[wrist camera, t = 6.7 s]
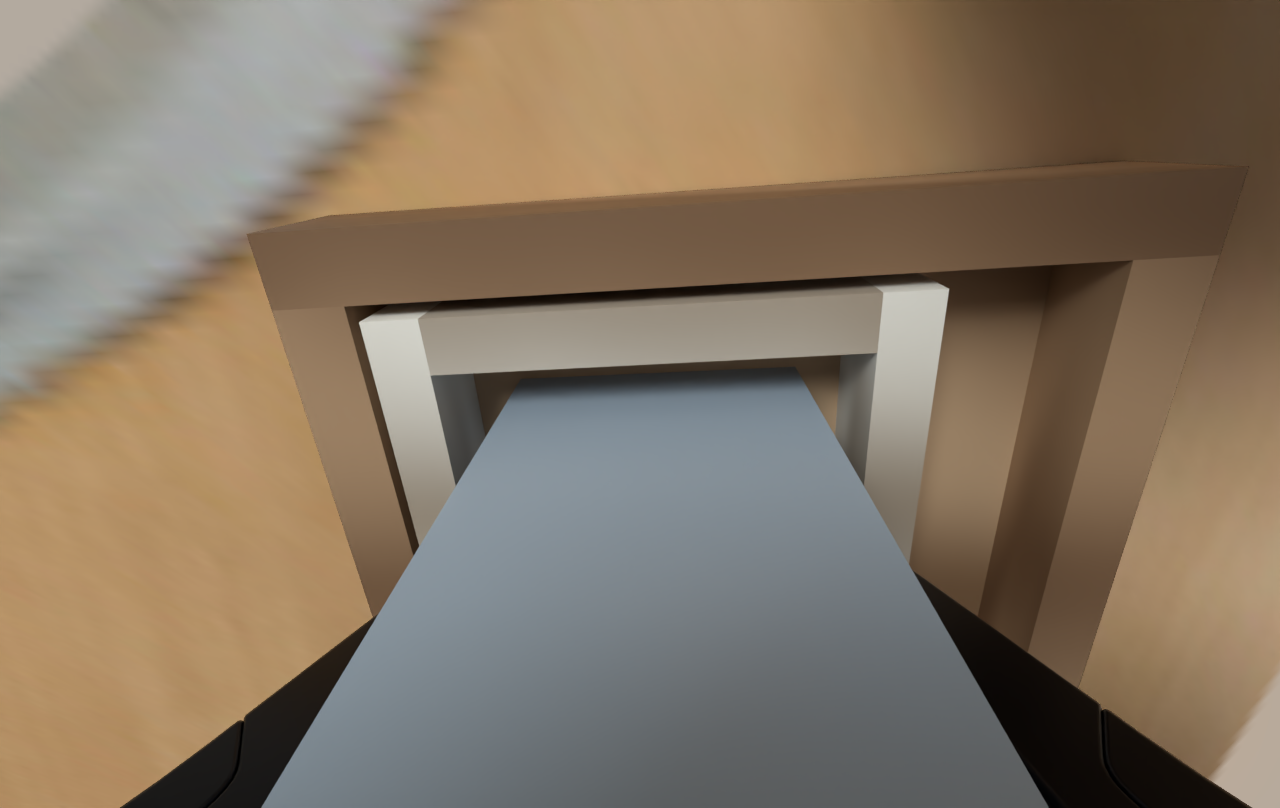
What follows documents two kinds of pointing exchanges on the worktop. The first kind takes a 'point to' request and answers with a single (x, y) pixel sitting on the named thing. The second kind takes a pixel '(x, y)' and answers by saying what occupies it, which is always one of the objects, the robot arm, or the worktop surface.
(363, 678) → the block
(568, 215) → the walnut box
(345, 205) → the worktop surface
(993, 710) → the robot arm
